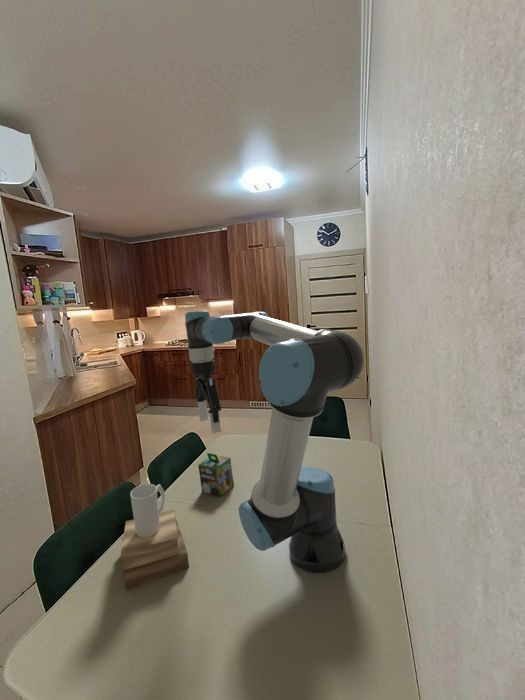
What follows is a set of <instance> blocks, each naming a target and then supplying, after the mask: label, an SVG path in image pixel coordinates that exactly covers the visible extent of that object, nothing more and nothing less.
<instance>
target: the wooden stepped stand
mask: <svg viewBox="0 0 525 700" xmlns="http://www.w3.org/2000/svg"><path fill="white" fill-rule="evenodd" d="M176 522H177V534H178V546H179V555H176V556H173V557H169V558H166V559H162V560H158V561H155V562H151V563H148V564H144V565H140V566H137V567H133V568H130V569H126V570H123V578H124V584H125V591H126V592H128V591H129V590H133V589H136V588H138V587H141V586H143V585H146V584H149V583H151V582H154V581H156V580H158V579H162V578H164V577H167V576H170V575H172V574H175V573H177V572H180V571H182V570H186V569H188V568H190V566H189V565H190V564H189V556H188V550H187V547H186V544H185V541H184V538H183V534H182V533H181V532H182V531H181V529H180V526H179V523H178V520H176ZM122 543H123V537H122V538H121V544H122Z"/></svg>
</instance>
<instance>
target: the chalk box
mask: <svg viewBox="0 0 525 700" xmlns="http://www.w3.org/2000/svg"><path fill="white" fill-rule="evenodd" d="M206 455H207V457H208V458H205V459H204V460H203V461H201V462H200V463H198V472H199V480H200V487H201V492H202V493H205V494H208V495H211V496H215V497H217V498H221V496H223V495H224V494H226V493H227V492H228V491H229V490H230V489H231V488H233V487H234V486H235V483H234V476H233V474H234V473H233V468H232V461H231V457H227V456H222V455H217V454H215V453H210V452H207V454H206Z"/></svg>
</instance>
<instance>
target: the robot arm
mask: <svg viewBox="0 0 525 700" xmlns="http://www.w3.org/2000/svg"><path fill="white" fill-rule="evenodd" d="M184 319H185V321H184V323H185V324H184V325H185V329H186V331H185V332H186V336H187V338H186V339H187V345H188V355H189V361H190V370H191V371H190V373H191V375H193V376H195V377H194V378H195V386H194V387H195V388H194V389H195V390H194V391H195V393H194V395H195V396H194V398H195V399H196V401H197V409H198V416H199V422H203V421H208V420H210V430H211V434H216V433H221V432H222V429H221V428H222V427H221V417H220V411H222V408H221V403H220V399H219V395H218V390H217V387H216V382H215V381H216V380H215V378H214V377H211V374H214V373H215V372H216V370H217V369H216V361H215V360H214V359H215V354H214V352H215V351H216V348H214V345H218V344H219V345H220V344H221V345H222V344H225V343H227V342H230V341H237V340H244V339H252V340H254V341H256V342H260V343H262V344H265V345H268V346H269V347H268V348H267V350H265V352H264V353H263V355H262V356H261V359H260V363H259V367H258V380H259V381H260V384H259V387H260V390H261V392H262V394H263V396H264V398H265V399H266V400H267V403H268V405H269V406H270V407H271V408H272V409H271V410H272V411H271V416H270V422H269V427H268V432H267V439H266V446H265V451H264V456H263V462H262V468H261V473H260V479H259V480H258V481H256V482H255V484H254V485H253V487H252V489H251V494H250V499H248V500H244V501H243V502H242V503H240V504H239V506H238V516H239V520H240V523H241V526H242V529H243V531H244V533H245V534H246V537H247V538H248V540H249V541H250V543H251V544H252V546H253V547H254V548H256V550H258V551H262V552H263V551H265V552H266V551H267V550H269V549H272V548H274V547H276V546H277V545H279V544H281V543H283V542H284V541H286V540H287V539H289V538H290V539H289V541H288V542H289V543H288V549H289V556H290V559H291V561H292V562H293V563H294V564H295V566H297V567H298V568H300V569H302V570H303V571H304V570H305V571H307V572H311V573H326V572H331V571H332V570H335V569H336V568H338V567H339V566H340V565H342V563H344V559H345V558H346V545H345V542H344V539H343V537H342V534H341V532H340V530H339V527H338V525H337V524H338V523H337V510H336V509H337V508H336V505H337V504H336V488H335V484H334V478H333V476H332V475H331V473H329V472H328V471H326V470H324V469H321V468H320V467H319V468H318V467H312V466H302V465H303V463H304V462H303V461H304V458H305V453H306V450H307V445H308V441H309V438H310V437H309V436H310V433H311V429H312V424H313V420H314V418H315V417H318V416H320V415H321V413H322V412H323V410H324V409H325V403H326V401H327V400H326V399H327V396H328V394H329V393H331V392H334V391H338V390H341V389H344V388H346V387H348V386H350V385H352V384H353V383H354V382H355V381H356V380H357V379H358V378H359V376H360V375H361V374H362V371H363V368H364V365H365V364H364V361H365V358H364V352H363V349H362V347H361V345H360V343H359V342H358V341H357V340H356V339H355V338H354V337H353V336H351V335H350V334H348V333H345V332H341V331H338V330H333V329H331V328H323V329H319V330H316V329H313V328H308V327H305V326H301V325H298V324H294V323H292V322H291V323H290V322H286V321H283V320H279V319H275V318H271V317H270V315H269V314H268V313H267V312H265V311H253V312H245V313H239V314H227V315H217V316H214V315H213V316H211V314H210V312H209V310H194V311H188V312H186V313H185V314H184ZM207 405H208V406H207ZM208 408H209V410H208ZM208 414H209V415H208Z"/></svg>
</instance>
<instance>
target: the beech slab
mask: <svg viewBox="0 0 525 700" xmlns="http://www.w3.org/2000/svg"><path fill="white" fill-rule="evenodd" d="M176 521H177V517H176V509H171V510H167V511H162V512H160V513H159V530H158V531H157V532H156V533H155V534H154V535H152V536H149V537H139V536H138V535H137V534H136V529H135V523H134V519H130V520H126V521H125V524H124V525H125V526H124V532H123V537H122V538H123V543H122V542H121V550H120V557H121V563H122V569H123V571H124V570H126V569H130V568H133V567H137V566H140V565H144V564H148V563H151V562H155V561H158V560H162V559H166V558H169V557H173V556H176V555H179V546H178V534H177V523H178V521H177V522H176Z"/></svg>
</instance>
